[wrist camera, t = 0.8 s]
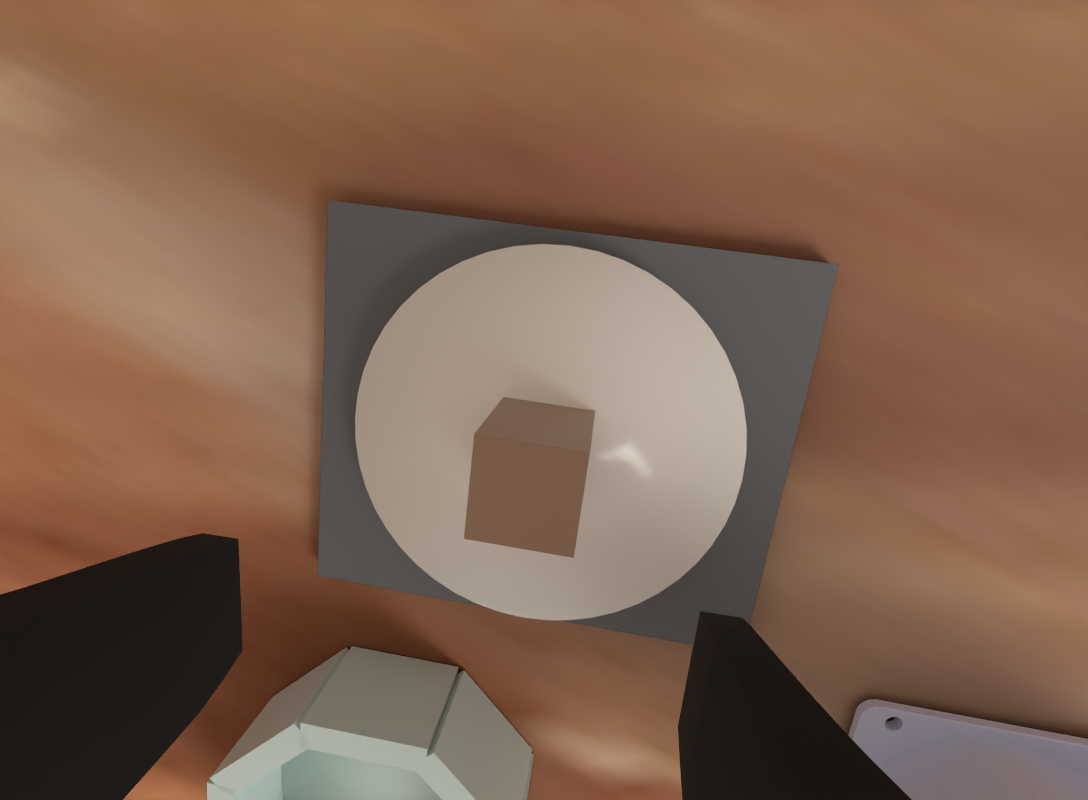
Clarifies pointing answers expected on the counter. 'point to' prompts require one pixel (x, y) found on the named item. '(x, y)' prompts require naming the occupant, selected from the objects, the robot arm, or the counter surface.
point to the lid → (550, 432)
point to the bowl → (377, 737)
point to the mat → (693, 272)
